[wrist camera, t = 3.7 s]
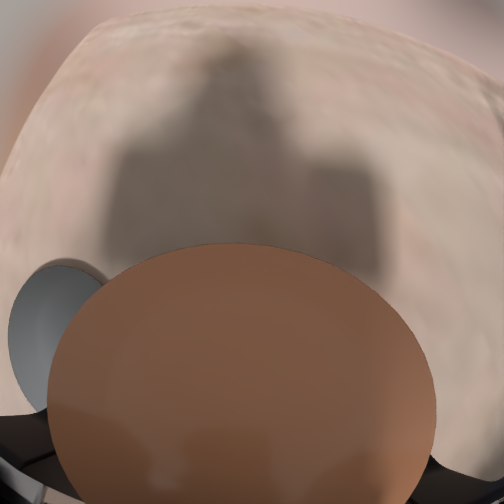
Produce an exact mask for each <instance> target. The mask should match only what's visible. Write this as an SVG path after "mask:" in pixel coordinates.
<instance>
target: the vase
mask: <svg viewBox="0 0 504 504" xmlns="http://www.w3.org/2000/svg"><path fill="white" fill-rule="evenodd" d="M47 413H48V423H49V428H50V433H51V437H52V442H53V445H54V448H55V450H56V453H57V456H58V459H59V461H60V464H61V466H62V468H63V470H64V472H65V474H66V476H67V477H68V479H69V481H70V483H71V484H72V486H73V487H74V489H75V490H76V492H77V493H78V495H79V496H80V498H81V499H82V500H83V501H84V502H85V504H405V503H406V501H407V500H408V498H409V497H410V495H411V494H412V492H413V491H414V489H415V487H416V486H417V484H418V482H419V480H420V478H421V476H422V474H423V472H424V470H425V467H426V465H427V462H428V459H429V456H430V453H431V449H432V446H433V441H434V435H435V428H436V396H435V390H434V384H433V378H432V375H431V372H430V369H429V366H428V363H427V360H426V357H425V355H424V353H423V351H422V349H421V347H420V345H419V343H418V341H417V339H416V338H415V336H414V334H413V332H412V331H411V330H410V328H409V327H408V326H407V324H406V323H405V322H404V320H403V319H402V318H401V316H400V315H399V314H398V313H397V312H396V311H395V310H394V309H393V308H392V307H391V306H390V305H389V304H388V303H387V302H386V301H385V300H384V299H383V298H382V297H381V296H380V295H379V294H378V293H376V292H375V291H374V290H372V289H371V288H370V287H368V286H367V285H365V284H364V283H363V282H361V281H360V280H359V279H357V278H356V277H354V276H352V275H350V274H348V273H346V272H345V271H343V270H341V269H339V268H337V267H335V266H333V265H331V264H329V263H327V262H324V261H321V260H319V259H316V258H313V257H311V256H308V255H305V254H302V253H299V252H295V251H290V250H286V249H281V248H277V247H272V246H265V245H254V244H243V243H227V244H206V245H200V246H195V247H189V248H183V249H178V250H175V251H171V252H168V253H165V254H162V255H159V256H155V257H152V258H150V259H148V260H146V261H143V262H141V263H139V264H137V265H135V266H133V267H131V268H129V269H127V270H125V271H124V272H122V273H121V274H119V275H118V276H116V277H115V278H113V279H112V280H110V281H109V282H107V283H106V284H104V285H103V286H102V287H101V288H100V289H99V290H98V291H97V292H95V293H94V294H93V295H92V296H91V297H90V298H89V299H88V300H87V301H86V302H85V303H84V304H83V306H82V307H81V308H80V309H79V311H78V312H77V313H76V314H75V316H74V317H73V318H72V320H71V321H70V323H69V325H68V326H67V328H66V330H65V332H64V333H63V335H62V337H61V339H60V341H59V344H58V346H57V349H56V352H55V354H54V357H53V360H52V364H51V369H50V373H49V378H48V388H47Z"/></svg>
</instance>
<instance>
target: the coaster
mask: <svg viewBox="0 0 504 504" xmlns="http://www.w3.org/2000/svg"><path fill="white" fill-rule="evenodd" d="M102 286H103V285H102V284H101V283H100V282H99V281H97V280H96V279H95V278H93V277H92V276H91V275H89V274H87V273H85V272H83V271H80V270H77V269H74V268H71V267H66V266H54V267H49V268H46V269H43V270H41V271H39V272H38V273H36V274H34V275H33V276H32V277H31V278H30V279H29V280H28V281H27V282H26V283H25V284H24V285H23V287H22V288H21V290H20V291H19V293H18V295H17V297H16V299H15V301H14V304H13V307H12V310H11V314H10V319H9V326H8V347H9V355H10V360H11V364H12V368H13V371H14V374H15V377H16V379H17V382H18V384H19V386H20V388H21V390H22V392H23V394H24V395H25V397H26V398H27V400H28V401H29V403H30V404H31V405H32V406H33V408H34V409H35V410H36V411H37V412H39V411H41V410H43V409H45V408H46V407H47V388H48V378H49V373H50V369H51V364H52V360H53V357H54V354H55V352H56V349H57V346H58V344H59V341H60V339H61V337H62V335H63V333H64V332H65V330H66V328H67V326H68V325H69V323H70V321H71V320H72V318H73V317H74V316H75V314H76V313H77V312H78V311H79V309H80V308H81V307H82V306H83V304H84V303H85V302H86V301H87V300H88V299H89V298H90V297H91V296H92V295H93V294H94V293H95V292H97V291H98V290H99V289H100V288H101V287H102Z"/></svg>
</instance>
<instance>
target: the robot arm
mask: <svg viewBox="0 0 504 504" xmlns="http://www.w3.org/2000/svg"><path fill="white" fill-rule="evenodd" d="M502 497H504V477H502V478H501V479H499V480H497V481H483V480H480V479H477V478H473V477H470V476H467V475H464V474H461V473H459V472H456V471H453V470H450V469H448V468H445V467H444V466H442V465H441V464H439V463H438V462H437V461H436V460H435V459H434V458H433V457H432V455H431V454H430V456H429V459H428V462H427V465H426V467H425V470H424V472H423V474H422V476H421V478H420V480H419V482H418V484H417V486H416V487H415V489H414V491H413V492H412V494H411V495H410V497H409V498H408V500H407V501H406V503H405V504H504V499H503V500H501V501H499V499H500V498H502ZM0 504H85V502H84V501H83V500H82V499H81V498H80V496H79V495H78V493H77V492H76V490H75V489H74V487H73V486H72V484H71V483H70V481H69V479H68V477H67V476H66V474H65V472H64V470H63V468H62V466H61V464H60V461H59V459H58V456H57V453H56V450H55V448H54V445H53V442H52V437H51V433H50V428H49V423H48V413H47V407H46V408H45V409H43V410H41V411H39V412H37V413H34V414H29V415H15V416H0Z"/></svg>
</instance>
